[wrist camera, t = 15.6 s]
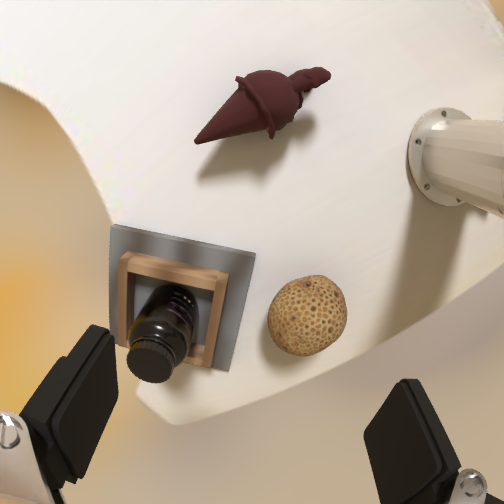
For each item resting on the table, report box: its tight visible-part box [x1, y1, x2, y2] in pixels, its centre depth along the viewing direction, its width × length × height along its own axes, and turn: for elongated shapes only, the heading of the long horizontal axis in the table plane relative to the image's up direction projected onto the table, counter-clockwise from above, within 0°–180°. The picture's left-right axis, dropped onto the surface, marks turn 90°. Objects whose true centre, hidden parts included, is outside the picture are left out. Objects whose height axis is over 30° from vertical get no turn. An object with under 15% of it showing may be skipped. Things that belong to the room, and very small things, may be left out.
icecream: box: [194, 67, 331, 144], centre depth 29 cm, size 7×7×15 cm
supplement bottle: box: [127, 285, 199, 383], centre depth 34 cm, size 7×7×12 cm
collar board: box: [109, 224, 256, 371], centre depth 38 cm, size 18×18×4 cm
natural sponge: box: [268, 275, 347, 356], centre depth 35 cm, size 9×9×10 cm
